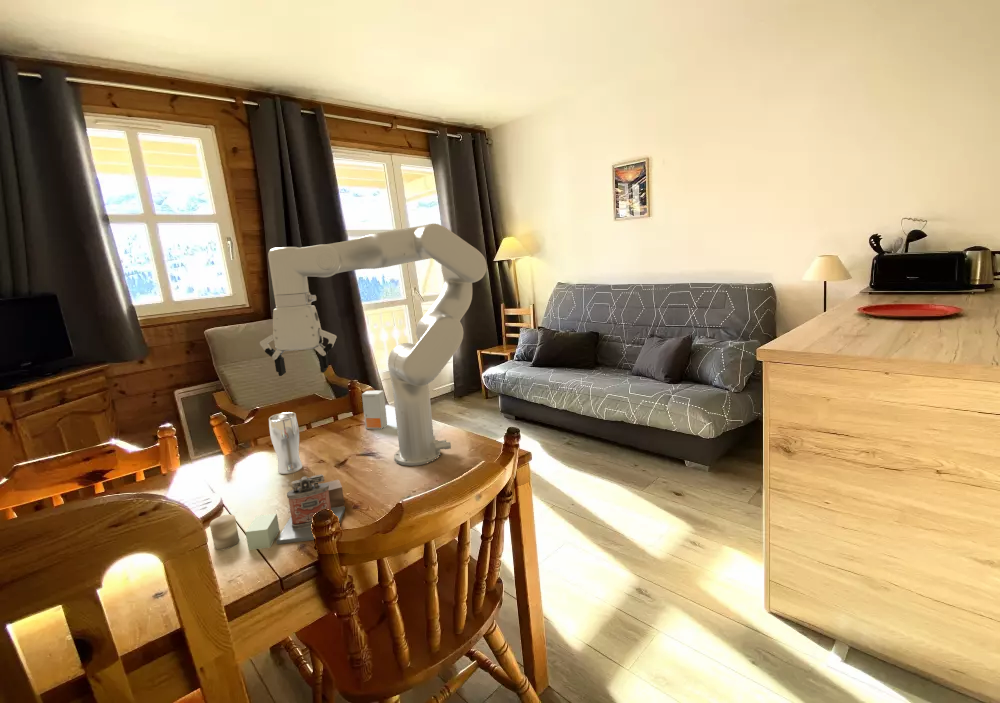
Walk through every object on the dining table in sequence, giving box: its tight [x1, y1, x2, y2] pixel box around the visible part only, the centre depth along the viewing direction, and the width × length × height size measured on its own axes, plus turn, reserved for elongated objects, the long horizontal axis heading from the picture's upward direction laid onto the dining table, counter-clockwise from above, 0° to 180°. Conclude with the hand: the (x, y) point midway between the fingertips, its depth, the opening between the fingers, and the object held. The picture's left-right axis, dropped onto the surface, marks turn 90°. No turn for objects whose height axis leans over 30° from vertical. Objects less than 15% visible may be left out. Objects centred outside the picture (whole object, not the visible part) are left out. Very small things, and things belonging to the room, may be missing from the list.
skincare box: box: [361, 389, 388, 430], centre depth 158 cm, size 6×4×12 cm
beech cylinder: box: [209, 514, 240, 551], centre depth 97 cm, size 4×4×5 cm
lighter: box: [286, 473, 331, 529], centre depth 101 cm, size 8×3×10 cm, turn 114°
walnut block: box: [325, 479, 345, 508], centre depth 110 cm, size 4×4×4 cm
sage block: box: [244, 513, 280, 551], centre depth 97 cm, size 4×6×4 cm
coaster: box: [275, 505, 346, 545], centre depth 102 cm, size 11×11×1 cm
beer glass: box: [268, 411, 303, 475], centre depth 129 cm, size 7×7×15 cm
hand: (303, 372), depth 116 cm, fingers open, 9 cm apart
